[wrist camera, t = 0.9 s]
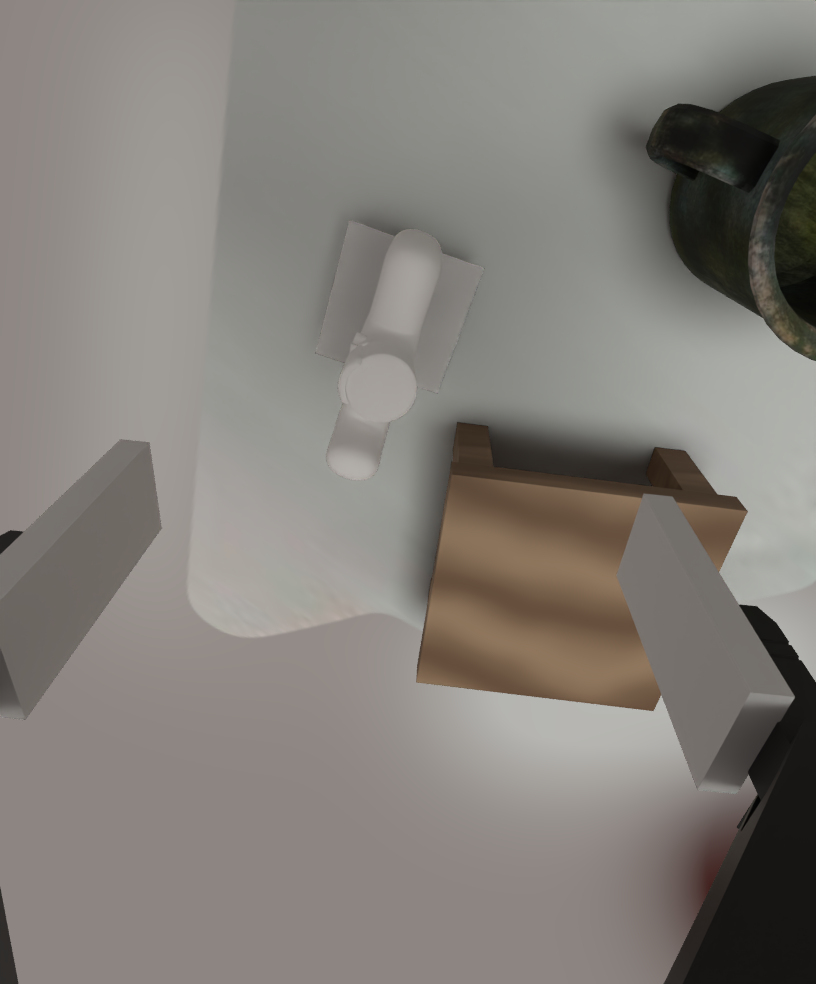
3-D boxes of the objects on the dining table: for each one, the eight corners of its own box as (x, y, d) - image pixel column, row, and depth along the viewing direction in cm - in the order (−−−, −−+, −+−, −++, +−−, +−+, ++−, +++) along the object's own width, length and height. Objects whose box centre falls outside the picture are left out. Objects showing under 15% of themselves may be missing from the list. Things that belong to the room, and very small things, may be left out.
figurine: (488, 235, 34) (514, 300, 21) (432, 387, 39) (425, 516, 26) (364, 190, 33) (311, 229, 20) (321, 351, 38) (257, 465, 25)
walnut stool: (450, 414, 40) (451, 474, 33) (695, 445, 40) (747, 511, 33) (420, 602, 48) (416, 682, 41) (623, 627, 48) (653, 711, 41)
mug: (791, 327, 36) (931, 408, 25) (564, 235, 34) (616, 281, 24) (934, 123, 30) (1184, 120, 20) (673, -1, 28) (802, -74, 18)
